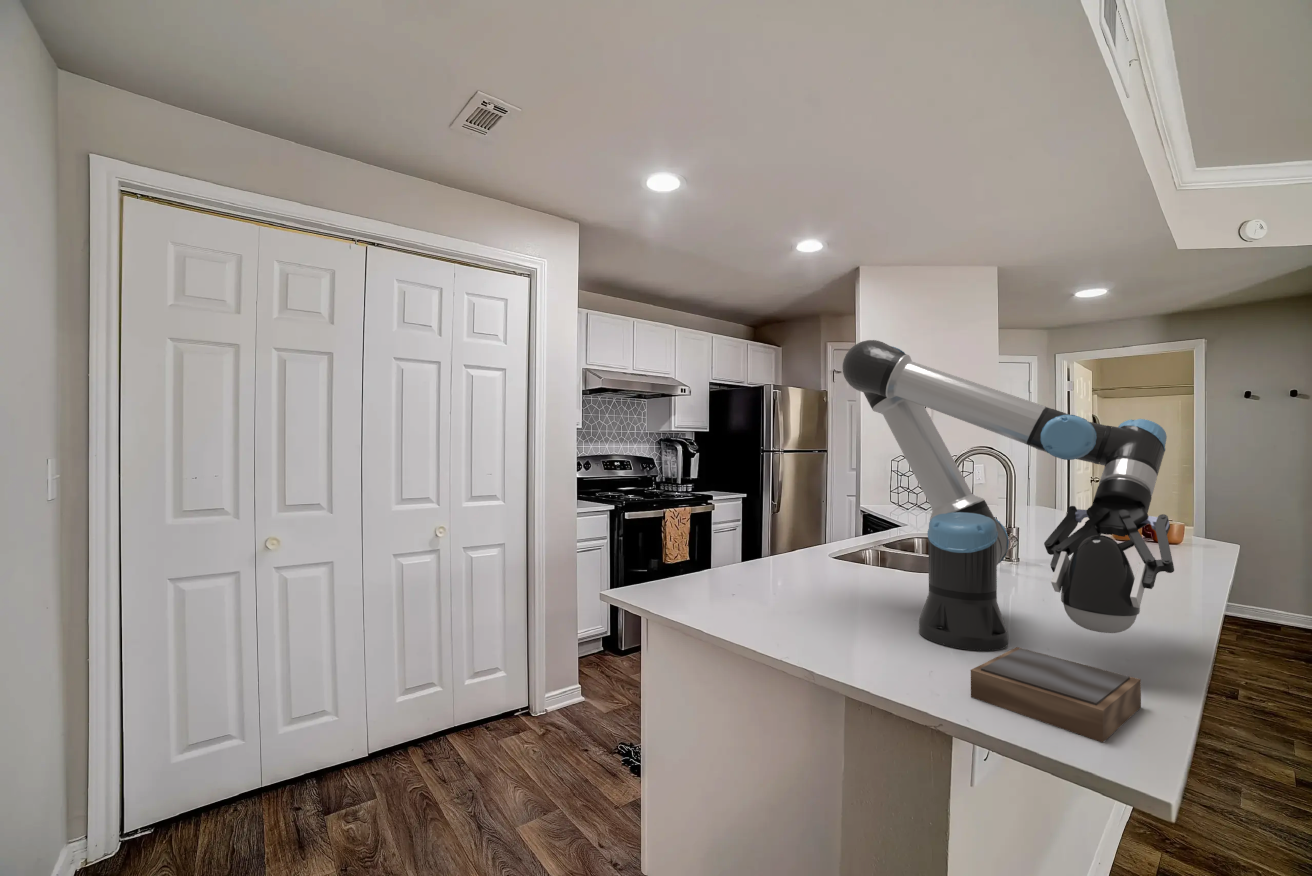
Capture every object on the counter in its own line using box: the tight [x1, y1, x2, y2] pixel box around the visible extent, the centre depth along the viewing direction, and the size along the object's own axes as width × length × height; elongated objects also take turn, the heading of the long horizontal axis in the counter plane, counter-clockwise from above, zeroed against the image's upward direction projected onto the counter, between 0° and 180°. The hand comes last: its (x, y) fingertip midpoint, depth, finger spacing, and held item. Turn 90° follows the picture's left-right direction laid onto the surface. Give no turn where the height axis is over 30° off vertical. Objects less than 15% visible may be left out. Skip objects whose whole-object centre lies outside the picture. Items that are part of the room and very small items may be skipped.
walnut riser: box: [970, 646, 1142, 743], centre depth 83 cm, size 16×16×4 cm
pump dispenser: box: [1060, 534, 1141, 634], centre depth 94 cm, size 10×10×15 cm
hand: (1093, 594), depth 92 cm, fingers closed on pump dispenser, 10 cm apart
